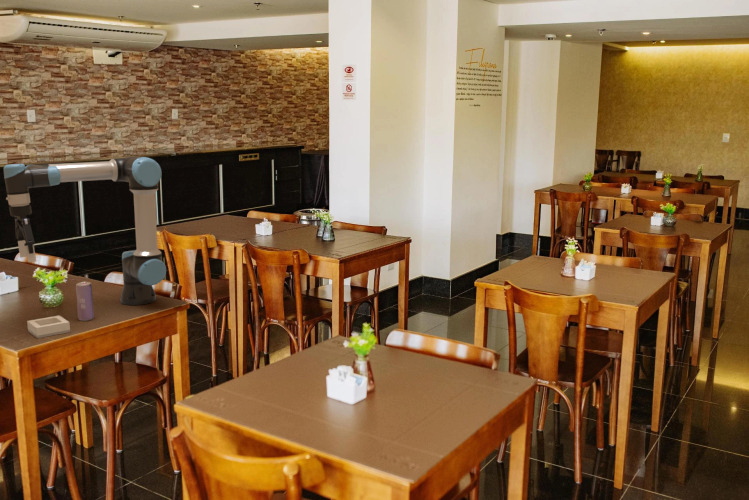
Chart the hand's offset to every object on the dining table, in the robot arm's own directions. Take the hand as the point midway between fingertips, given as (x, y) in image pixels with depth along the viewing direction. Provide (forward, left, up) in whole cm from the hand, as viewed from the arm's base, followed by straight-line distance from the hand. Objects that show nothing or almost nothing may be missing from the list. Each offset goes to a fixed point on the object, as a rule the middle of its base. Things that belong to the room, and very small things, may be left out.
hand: (28, 259), depth 284 cm
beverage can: (-20, +1, -28) cm, 34 cm away
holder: (-3, +9, -27) cm, 29 cm away
